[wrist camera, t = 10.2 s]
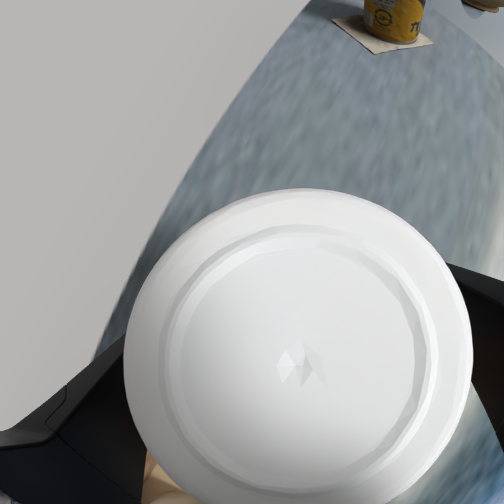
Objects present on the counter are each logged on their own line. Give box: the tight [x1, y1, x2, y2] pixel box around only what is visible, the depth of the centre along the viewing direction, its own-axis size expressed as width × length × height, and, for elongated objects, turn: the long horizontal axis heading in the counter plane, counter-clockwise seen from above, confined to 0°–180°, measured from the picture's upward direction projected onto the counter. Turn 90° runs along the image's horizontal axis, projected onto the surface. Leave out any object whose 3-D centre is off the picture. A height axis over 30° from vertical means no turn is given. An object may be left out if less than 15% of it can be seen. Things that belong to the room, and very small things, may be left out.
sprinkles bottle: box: [123, 188, 473, 504], centre depth 9 cm, size 5×5×13 cm
